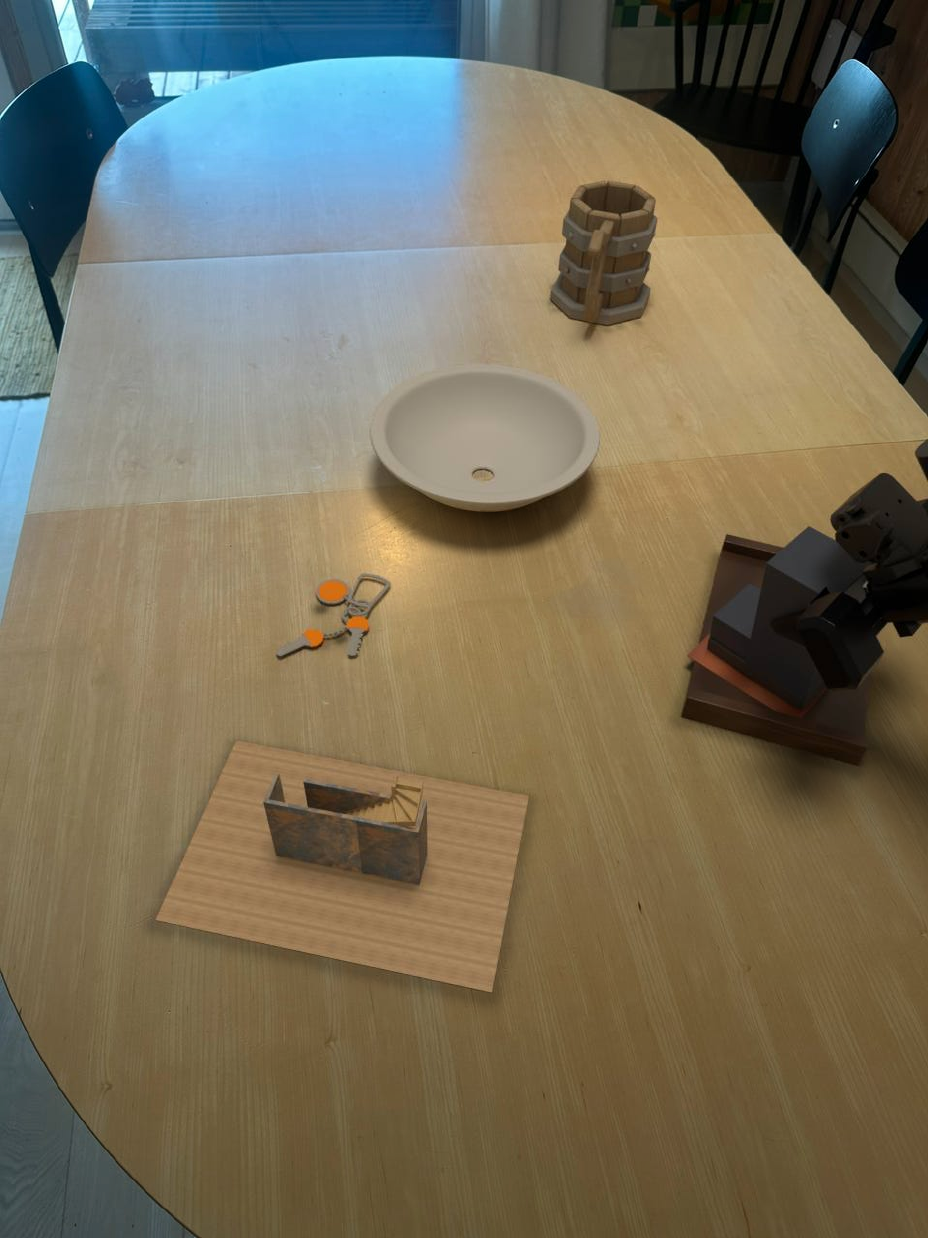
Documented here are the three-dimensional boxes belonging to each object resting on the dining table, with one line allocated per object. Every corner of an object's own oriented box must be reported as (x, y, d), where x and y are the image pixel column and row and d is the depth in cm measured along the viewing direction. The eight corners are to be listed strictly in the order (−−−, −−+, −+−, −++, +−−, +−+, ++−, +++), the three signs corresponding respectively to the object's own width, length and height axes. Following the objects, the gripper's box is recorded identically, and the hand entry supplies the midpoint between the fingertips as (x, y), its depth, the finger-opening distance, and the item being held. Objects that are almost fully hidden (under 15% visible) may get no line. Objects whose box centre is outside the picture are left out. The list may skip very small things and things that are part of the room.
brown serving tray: (872, 590, 95) (881, 570, 93) (857, 766, 81) (868, 747, 79) (712, 551, 99) (718, 531, 97) (672, 713, 85) (677, 694, 83)
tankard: (566, 270, 138) (577, 162, 126) (653, 286, 135) (673, 177, 124) (527, 341, 125) (536, 228, 114) (624, 361, 122) (643, 246, 111)
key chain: (334, 565, 96) (334, 558, 95) (402, 586, 94) (402, 579, 93) (269, 655, 88) (268, 649, 87) (342, 680, 86) (341, 673, 85)
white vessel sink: (634, 513, 102) (644, 463, 98) (427, 579, 95) (427, 529, 90) (527, 392, 117) (532, 344, 112) (340, 442, 109) (336, 392, 105)
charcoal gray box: (839, 673, 85) (876, 561, 74) (801, 711, 82) (833, 601, 72) (744, 615, 90) (766, 502, 79) (706, 649, 88) (723, 538, 77)
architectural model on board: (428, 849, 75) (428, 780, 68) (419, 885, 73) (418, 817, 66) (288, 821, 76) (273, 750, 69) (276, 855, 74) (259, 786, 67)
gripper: (986, 414, 70) (807, 469, 83) (866, 541, 60) (685, 580, 74) (1046, 546, 72) (862, 579, 85) (939, 688, 63) (750, 700, 76)
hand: (793, 605), depth 80 cm, fingers closed on charcoal gray box, 6 cm apart
